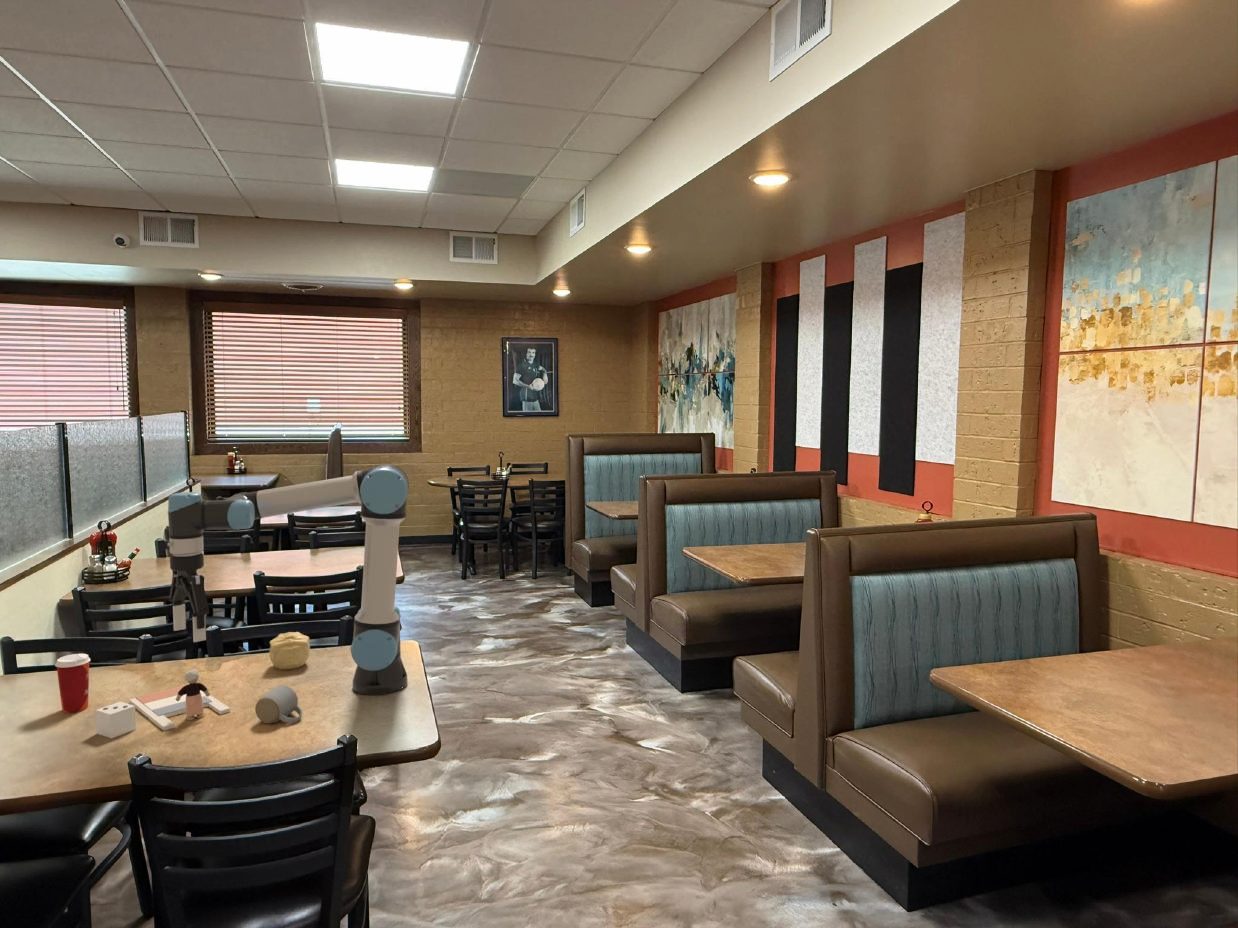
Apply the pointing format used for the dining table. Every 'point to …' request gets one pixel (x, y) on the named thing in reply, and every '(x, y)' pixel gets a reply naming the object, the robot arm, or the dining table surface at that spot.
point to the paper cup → (73, 682)
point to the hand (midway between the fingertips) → (189, 635)
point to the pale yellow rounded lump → (289, 650)
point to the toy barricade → (171, 706)
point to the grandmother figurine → (193, 695)
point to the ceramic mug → (278, 705)
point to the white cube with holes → (115, 719)
